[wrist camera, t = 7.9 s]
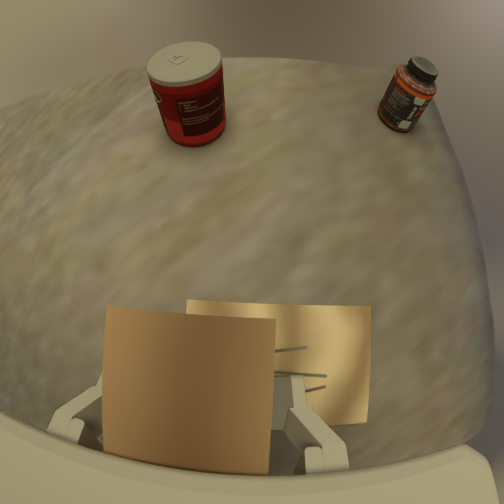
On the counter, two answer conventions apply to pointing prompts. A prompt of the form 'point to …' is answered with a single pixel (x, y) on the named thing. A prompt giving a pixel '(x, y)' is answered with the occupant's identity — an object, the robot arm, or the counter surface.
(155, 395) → the block
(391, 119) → the supplement bottle
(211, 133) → the canned food
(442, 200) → the counter surface
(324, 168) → the counter surface
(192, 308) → the board
